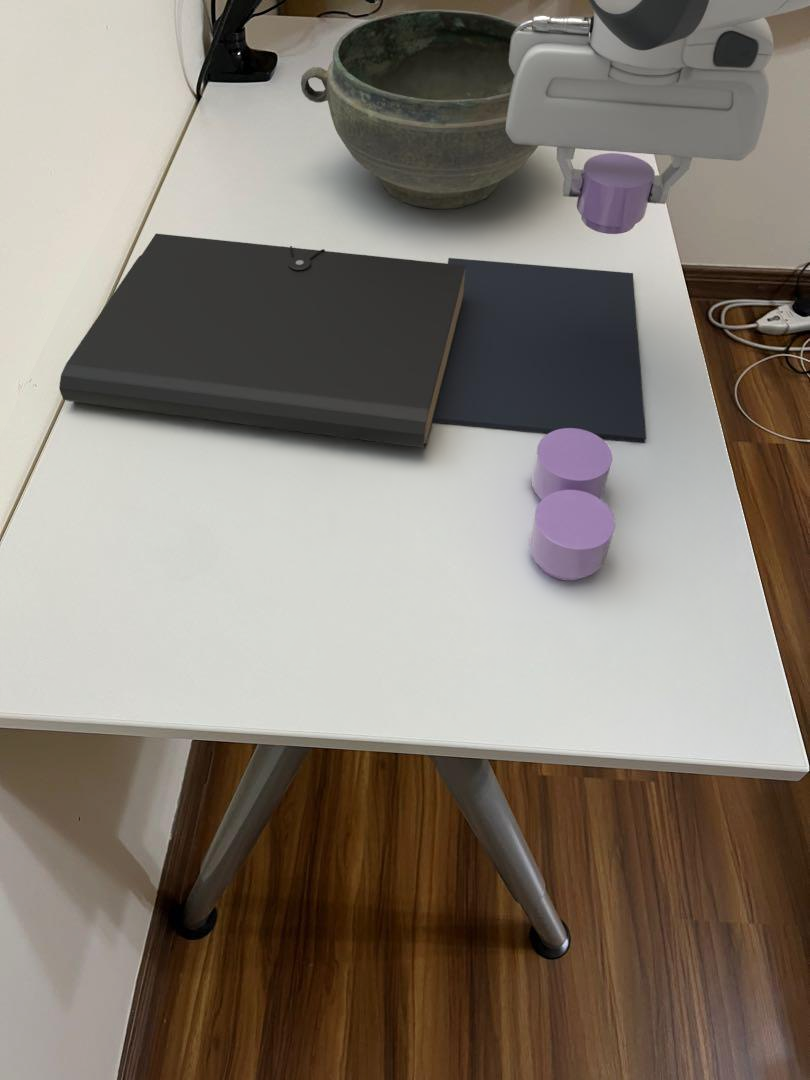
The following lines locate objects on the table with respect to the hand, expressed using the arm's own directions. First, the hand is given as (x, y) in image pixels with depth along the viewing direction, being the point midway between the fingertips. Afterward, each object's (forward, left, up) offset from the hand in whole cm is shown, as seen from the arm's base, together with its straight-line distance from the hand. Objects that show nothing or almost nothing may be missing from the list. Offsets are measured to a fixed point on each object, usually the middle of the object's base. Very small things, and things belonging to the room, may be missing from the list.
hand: (613, 197), depth 74 cm
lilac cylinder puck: (+2, +29, -15) cm, 33 cm away
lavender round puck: (0, 0, -2) cm, 2 cm away
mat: (+5, +2, -15) cm, 16 cm away
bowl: (+18, -29, -15) cm, 37 cm away
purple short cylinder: (+2, +22, -15) cm, 26 cm away
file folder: (+30, +7, -15) cm, 34 cm away
